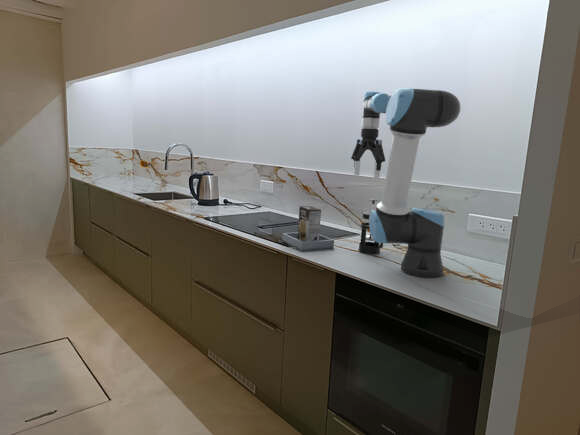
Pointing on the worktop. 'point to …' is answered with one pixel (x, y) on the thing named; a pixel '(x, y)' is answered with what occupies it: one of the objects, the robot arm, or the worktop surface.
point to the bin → (322, 244)
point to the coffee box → (309, 223)
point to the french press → (368, 237)
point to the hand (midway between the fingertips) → (366, 176)
